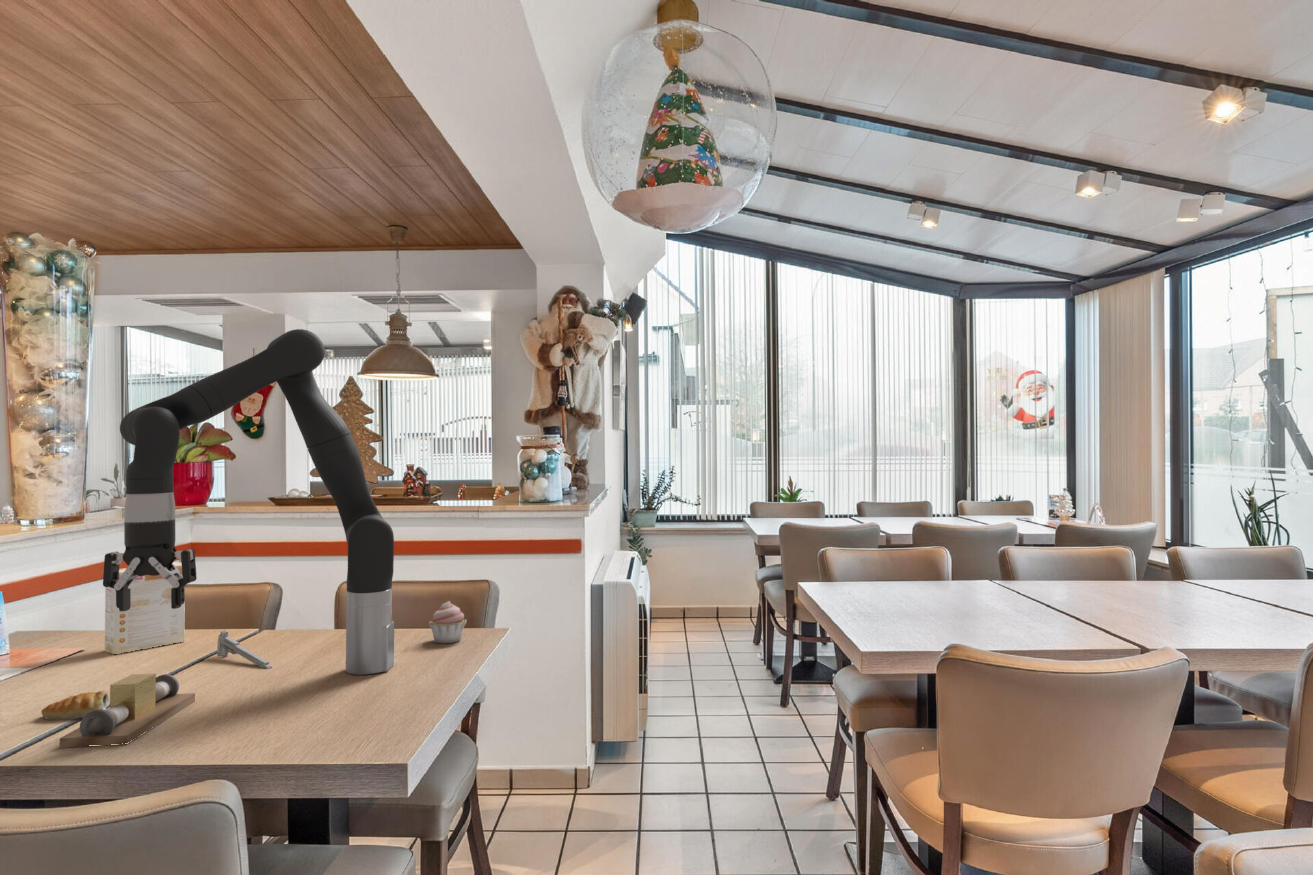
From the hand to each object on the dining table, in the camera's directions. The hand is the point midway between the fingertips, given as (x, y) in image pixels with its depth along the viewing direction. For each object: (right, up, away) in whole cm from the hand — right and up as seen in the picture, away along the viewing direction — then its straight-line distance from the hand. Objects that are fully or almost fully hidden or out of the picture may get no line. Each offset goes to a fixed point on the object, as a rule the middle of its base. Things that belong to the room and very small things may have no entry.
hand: (150, 609), depth 130 cm
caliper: (-3, -21, +34) cm, 40 cm away
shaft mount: (-1, -19, -4) cm, 19 cm away
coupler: (-1, -17, -4) cm, 18 cm away
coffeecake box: (-35, -21, +48) cm, 63 cm away
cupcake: (+38, -21, +52) cm, 68 cm away
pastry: (-13, -20, +1) cm, 24 cm away
